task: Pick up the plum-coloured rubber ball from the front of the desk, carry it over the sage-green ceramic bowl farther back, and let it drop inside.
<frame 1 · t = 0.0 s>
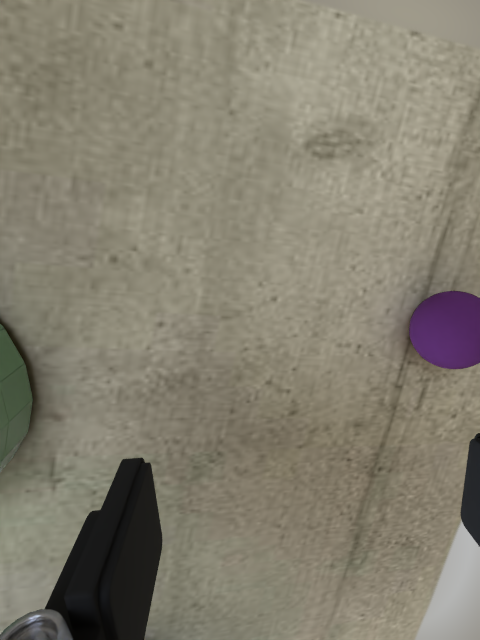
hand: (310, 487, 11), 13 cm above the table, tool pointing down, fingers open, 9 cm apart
ball: (451, 329, 21), point 2 cm above the table
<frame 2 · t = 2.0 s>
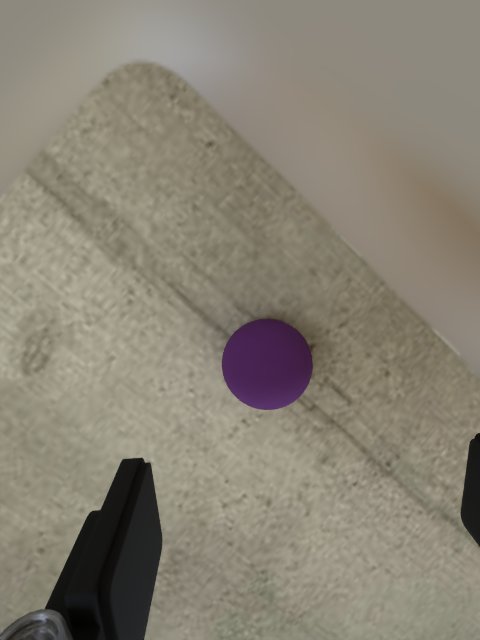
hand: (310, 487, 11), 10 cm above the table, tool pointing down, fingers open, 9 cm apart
ball: (266, 363, 18), point 2 cm above the table
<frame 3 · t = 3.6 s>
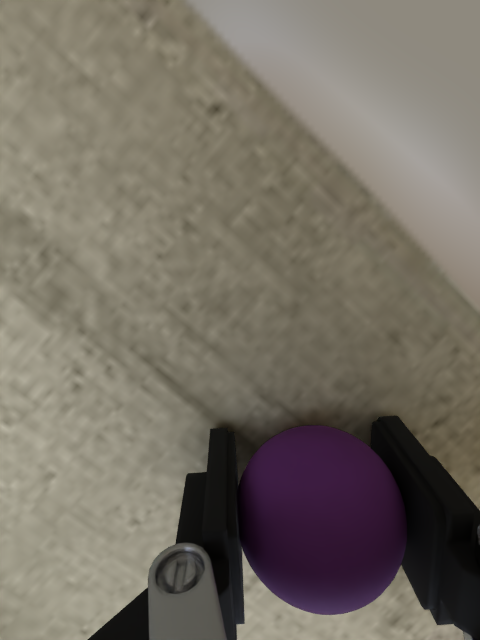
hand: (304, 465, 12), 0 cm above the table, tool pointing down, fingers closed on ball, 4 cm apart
ball: (317, 510, 10), point 2 cm above the table, touching gripper
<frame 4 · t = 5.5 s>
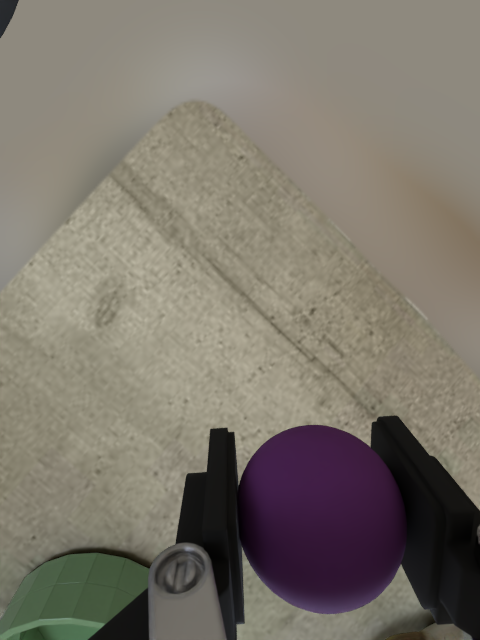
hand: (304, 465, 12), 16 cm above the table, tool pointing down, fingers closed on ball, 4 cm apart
ball: (317, 509, 10), point 18 cm above the table, touching gripper
ceramic sculpture: (441, 623, 36), on the table
green bowl: (100, 611, 35), on the table
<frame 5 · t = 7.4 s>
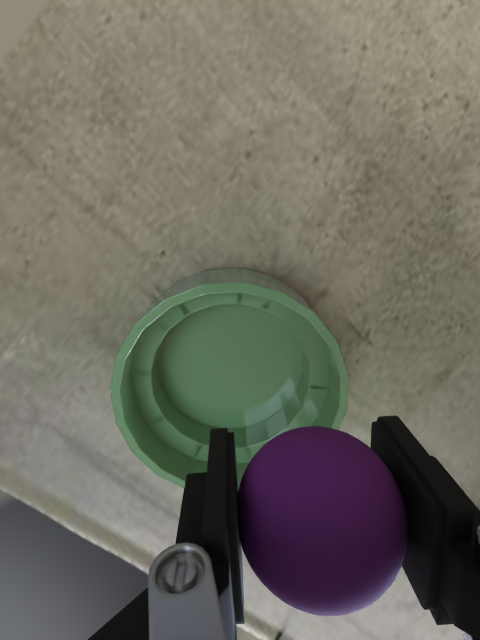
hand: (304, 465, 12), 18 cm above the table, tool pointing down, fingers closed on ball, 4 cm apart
ball: (318, 511, 10), point 19 cm above the table, touching gripper
green bowl: (230, 362, 30), on the table
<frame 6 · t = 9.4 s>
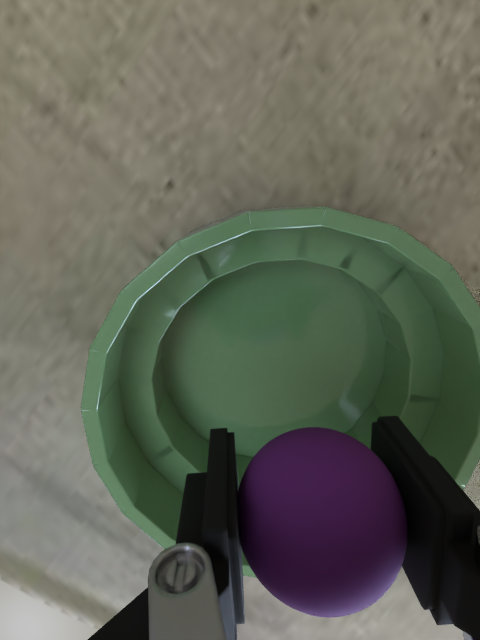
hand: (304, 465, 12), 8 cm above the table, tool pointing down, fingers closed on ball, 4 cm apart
ball: (317, 512, 10), point 10 cm above the table, touching gripper
green bowl: (273, 359, 19), on the table
when the fingers open (3 cm above the table, at t = 11.2 s): ball drops 2 cm, resting on green bowl.
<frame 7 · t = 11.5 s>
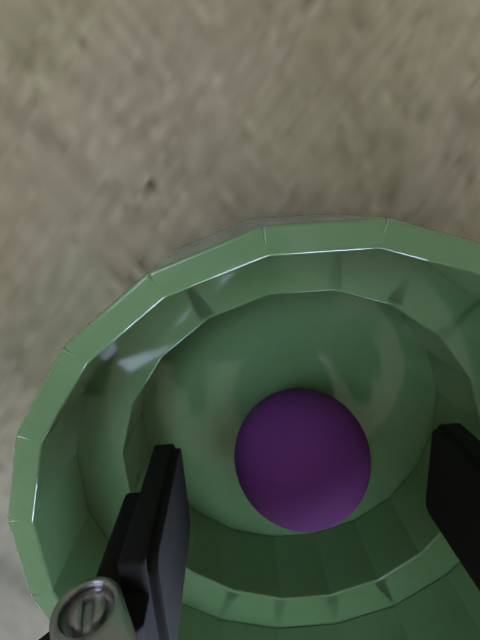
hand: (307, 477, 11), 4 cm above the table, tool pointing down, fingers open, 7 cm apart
ball: (300, 455, 12), point 3 cm above the table, touching green bowl
green bowl: (288, 411, 15), on the table
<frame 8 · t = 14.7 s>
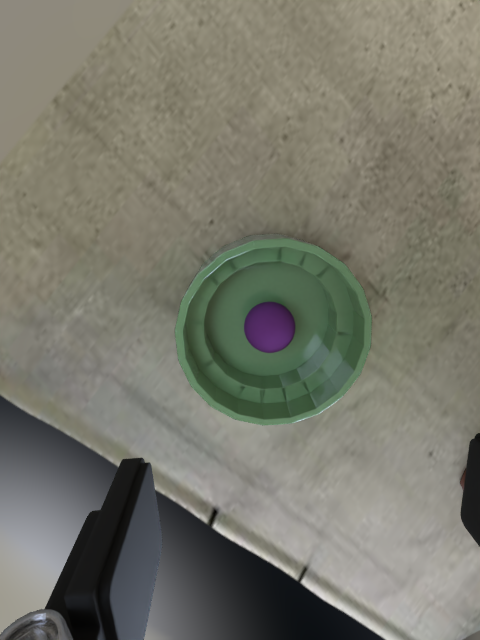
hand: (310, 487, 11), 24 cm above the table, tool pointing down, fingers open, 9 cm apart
ball: (269, 327, 32), point 3 cm above the table, touching green bowl
green bowl: (266, 317, 35), on the table
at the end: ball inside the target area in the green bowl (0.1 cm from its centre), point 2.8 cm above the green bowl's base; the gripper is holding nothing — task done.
